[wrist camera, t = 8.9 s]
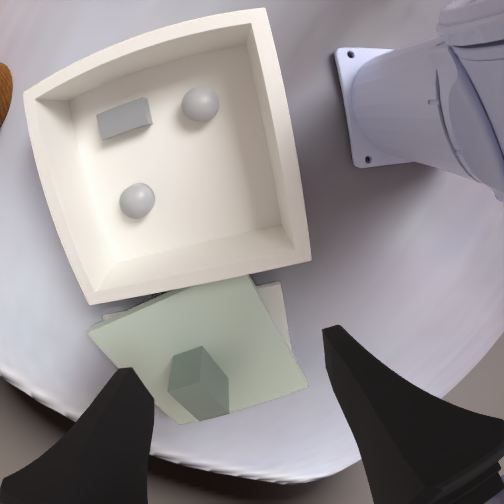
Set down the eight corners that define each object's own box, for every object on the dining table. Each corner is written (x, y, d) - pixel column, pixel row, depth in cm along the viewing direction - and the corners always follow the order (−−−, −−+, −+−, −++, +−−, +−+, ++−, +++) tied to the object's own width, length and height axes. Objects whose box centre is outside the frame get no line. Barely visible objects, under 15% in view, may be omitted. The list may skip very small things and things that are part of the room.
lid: (240, 252, 19) (245, 296, 14) (304, 371, 24) (317, 418, 19) (94, 319, 20) (70, 364, 16) (181, 410, 26) (176, 454, 21)
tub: (256, 34, 14) (264, 7, 10) (293, 230, 19) (311, 260, 15) (61, 95, 14) (22, 93, 10) (112, 270, 19) (89, 305, 15)
